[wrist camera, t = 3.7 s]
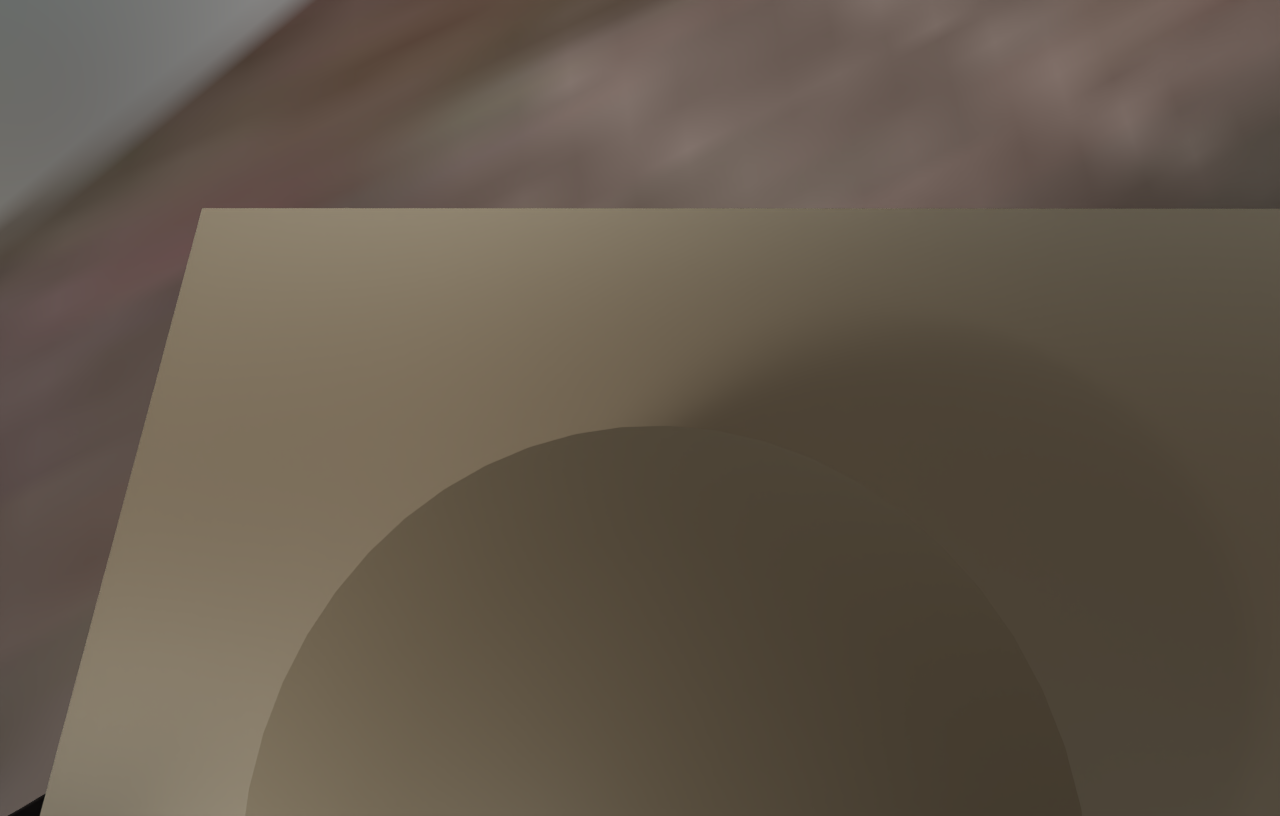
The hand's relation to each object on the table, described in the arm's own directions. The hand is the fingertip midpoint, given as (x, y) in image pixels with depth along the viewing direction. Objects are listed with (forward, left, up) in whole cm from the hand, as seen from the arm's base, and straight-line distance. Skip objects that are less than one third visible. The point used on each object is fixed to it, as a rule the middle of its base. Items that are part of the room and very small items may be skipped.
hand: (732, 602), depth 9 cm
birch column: (-1, 0, -7) cm, 7 cm away
